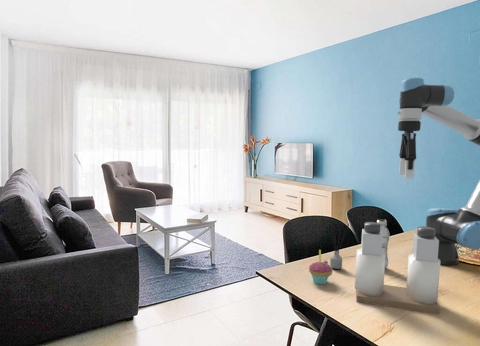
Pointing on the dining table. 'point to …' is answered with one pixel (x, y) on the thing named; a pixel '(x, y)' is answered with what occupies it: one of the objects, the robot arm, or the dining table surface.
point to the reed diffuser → (336, 253)
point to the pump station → (418, 276)
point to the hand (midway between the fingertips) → (405, 176)
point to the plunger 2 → (426, 232)
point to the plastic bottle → (384, 239)
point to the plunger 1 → (372, 227)
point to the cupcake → (320, 271)
